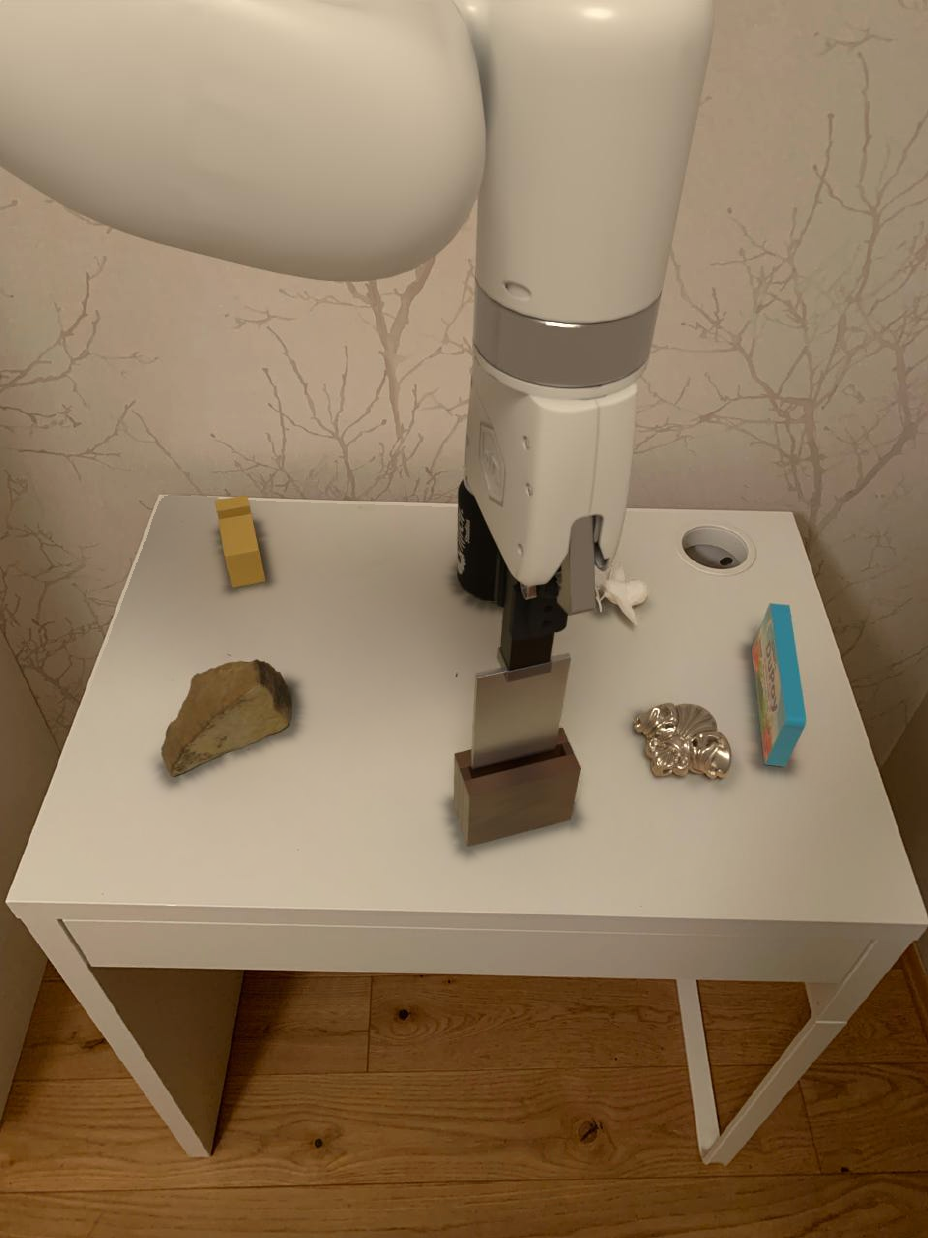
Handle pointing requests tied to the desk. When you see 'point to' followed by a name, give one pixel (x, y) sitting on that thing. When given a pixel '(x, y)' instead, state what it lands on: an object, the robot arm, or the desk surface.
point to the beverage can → (475, 547)
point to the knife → (518, 696)
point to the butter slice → (232, 507)
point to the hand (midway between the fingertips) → (529, 614)
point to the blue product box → (778, 686)
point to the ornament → (684, 740)
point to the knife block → (515, 793)
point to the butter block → (241, 550)
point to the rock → (226, 713)
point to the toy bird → (622, 591)
